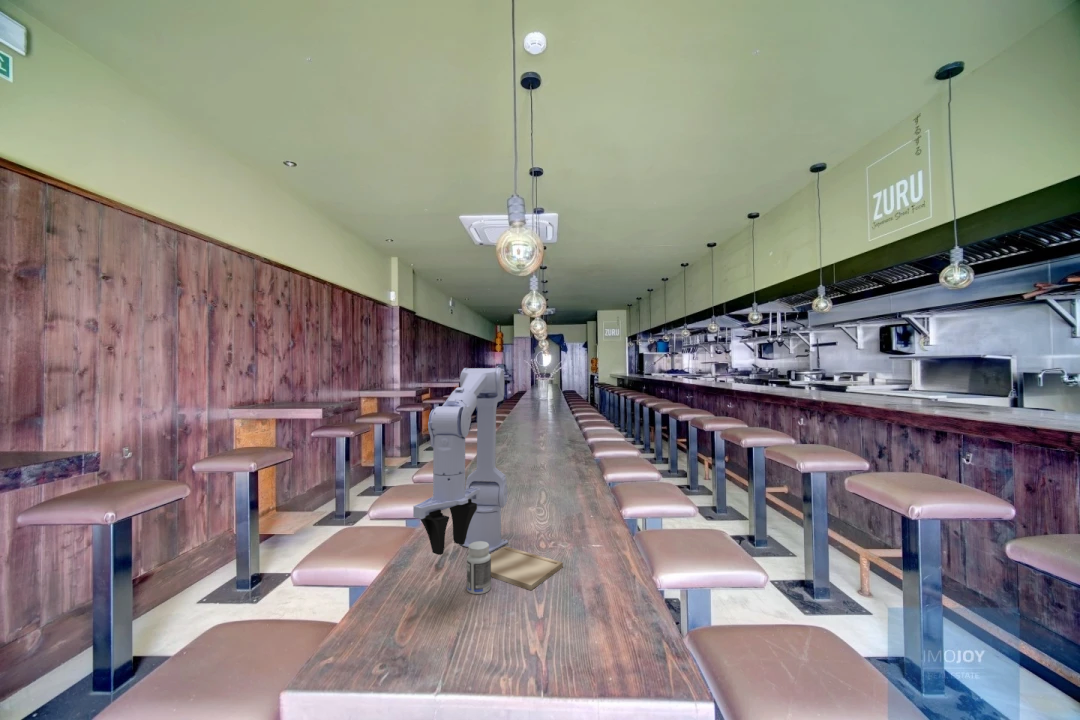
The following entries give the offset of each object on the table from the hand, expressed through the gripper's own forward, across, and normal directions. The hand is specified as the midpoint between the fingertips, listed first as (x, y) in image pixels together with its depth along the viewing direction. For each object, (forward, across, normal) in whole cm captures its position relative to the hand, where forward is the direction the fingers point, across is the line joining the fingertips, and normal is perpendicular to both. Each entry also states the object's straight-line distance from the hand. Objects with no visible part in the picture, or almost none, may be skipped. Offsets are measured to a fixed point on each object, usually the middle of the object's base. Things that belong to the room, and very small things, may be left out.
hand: (448, 548), depth 74 cm
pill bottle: (+11, +8, 0) cm, 13 cm away
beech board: (+10, +19, -1) cm, 22 cm away
